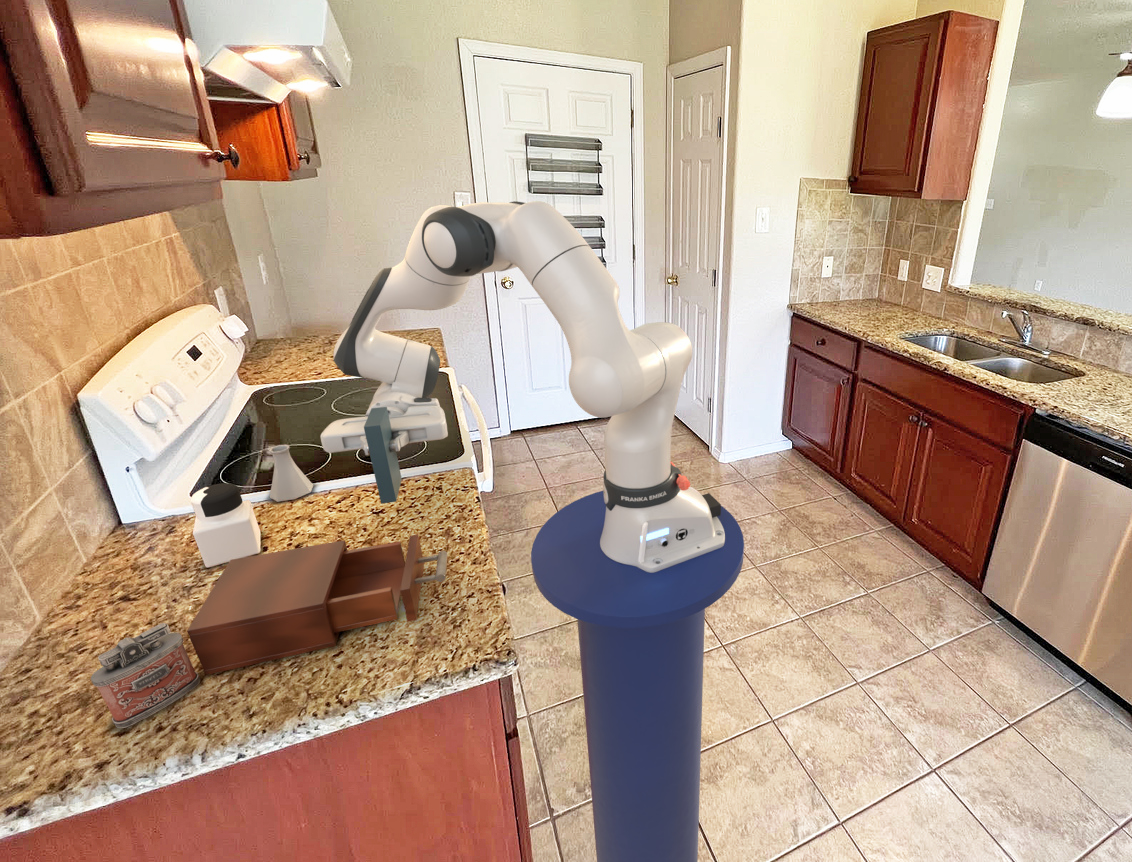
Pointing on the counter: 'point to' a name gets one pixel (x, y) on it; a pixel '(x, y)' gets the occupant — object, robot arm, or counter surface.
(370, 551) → the drawer
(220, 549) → the medicine bottle
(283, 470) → the flask
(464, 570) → the counter surface
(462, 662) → the counter surface
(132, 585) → the counter surface
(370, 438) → the dark teal rectangular block
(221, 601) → the cabinet
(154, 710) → the lighter
